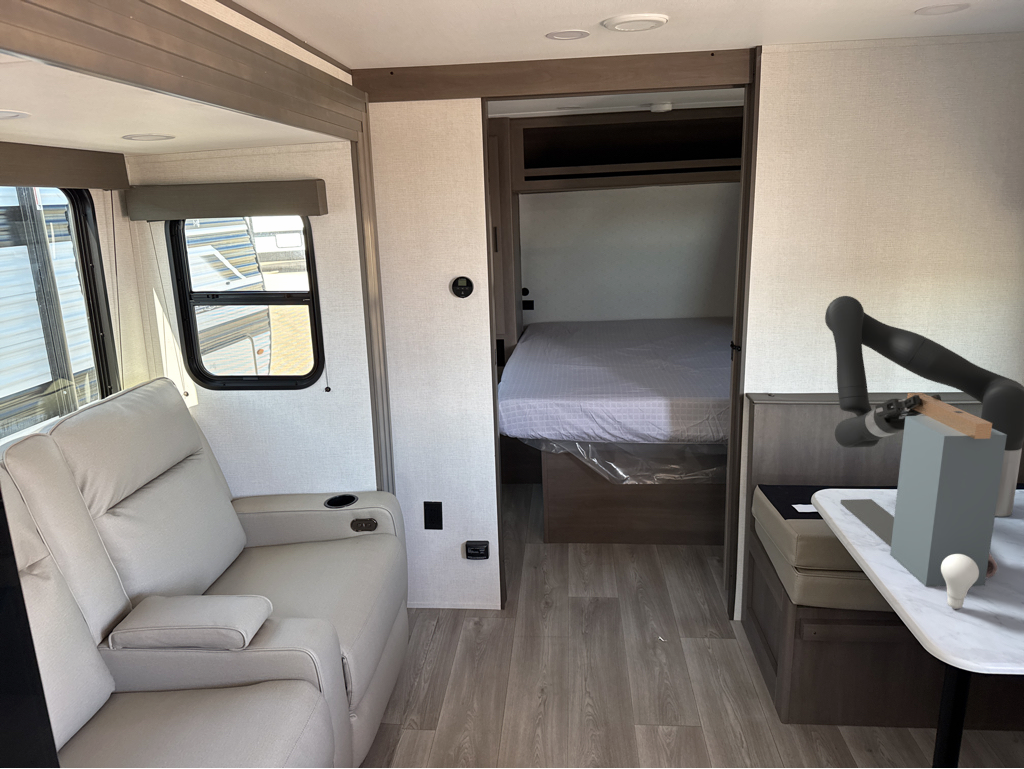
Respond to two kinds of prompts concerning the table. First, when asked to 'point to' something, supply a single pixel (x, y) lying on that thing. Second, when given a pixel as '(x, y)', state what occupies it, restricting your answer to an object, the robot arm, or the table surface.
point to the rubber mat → (872, 517)
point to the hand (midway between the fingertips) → (928, 399)
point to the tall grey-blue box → (945, 498)
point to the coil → (991, 567)
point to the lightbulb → (958, 577)
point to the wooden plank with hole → (953, 417)
